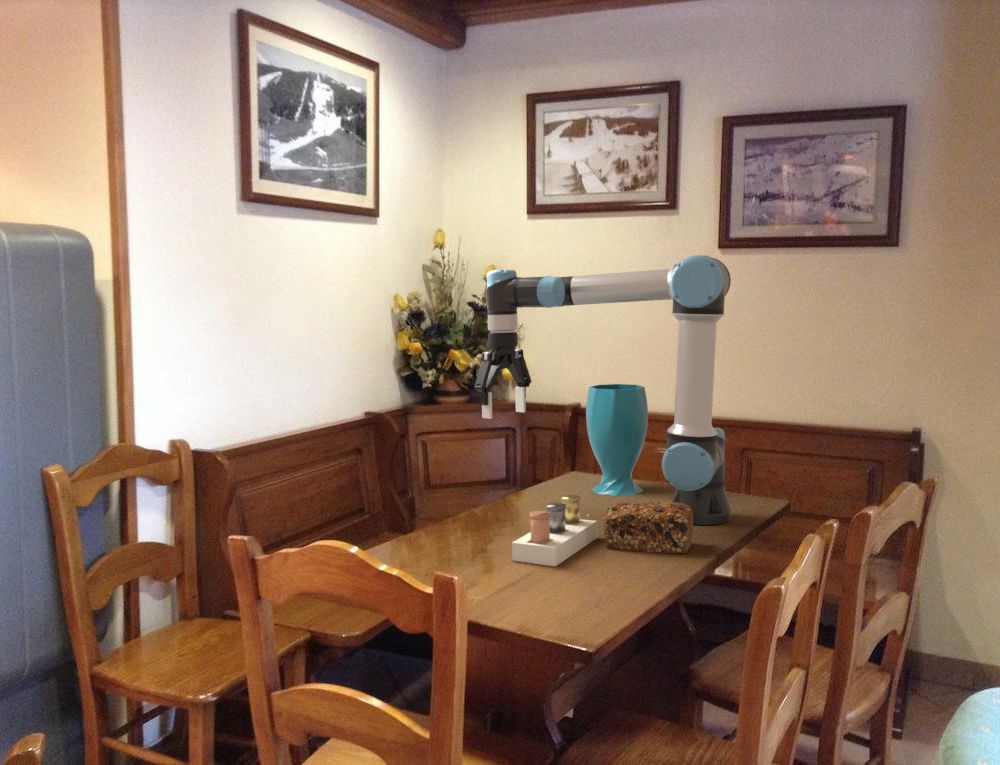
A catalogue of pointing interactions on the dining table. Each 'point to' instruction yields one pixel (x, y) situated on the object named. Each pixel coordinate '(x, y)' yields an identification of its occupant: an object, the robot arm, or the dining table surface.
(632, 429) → the vase
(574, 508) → the brass plug
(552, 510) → the grey plug
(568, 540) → the slab
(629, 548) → the bread
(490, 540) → the dining table surface
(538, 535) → the terracotta plug
